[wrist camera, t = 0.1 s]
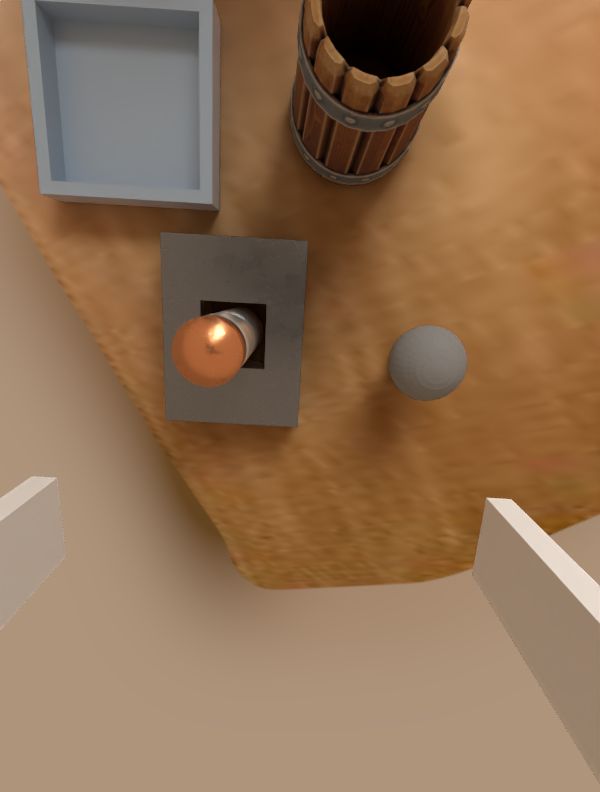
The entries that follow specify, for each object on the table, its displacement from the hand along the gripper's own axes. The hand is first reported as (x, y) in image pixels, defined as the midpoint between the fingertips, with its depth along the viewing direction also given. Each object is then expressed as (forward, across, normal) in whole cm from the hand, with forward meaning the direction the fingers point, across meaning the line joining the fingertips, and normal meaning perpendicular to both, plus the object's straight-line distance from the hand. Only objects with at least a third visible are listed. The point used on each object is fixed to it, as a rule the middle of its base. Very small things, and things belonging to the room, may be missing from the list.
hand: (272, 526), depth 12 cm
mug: (+28, +6, +23) cm, 37 cm away
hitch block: (+28, -5, +3) cm, 28 cm away
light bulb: (+28, +11, +2) cm, 30 cm away
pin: (+28, -5, +3) cm, 28 cm away
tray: (+28, -14, +21) cm, 37 cm away
